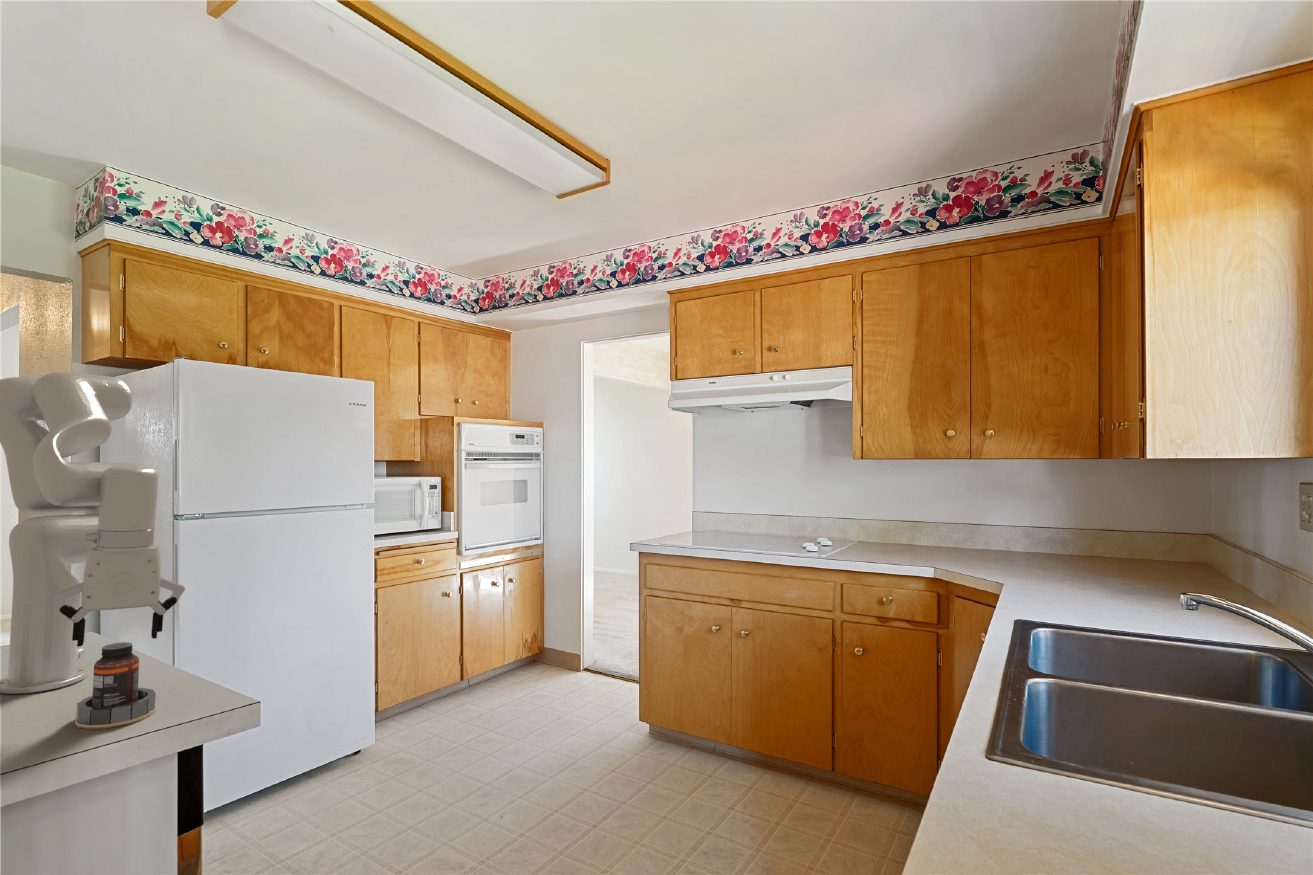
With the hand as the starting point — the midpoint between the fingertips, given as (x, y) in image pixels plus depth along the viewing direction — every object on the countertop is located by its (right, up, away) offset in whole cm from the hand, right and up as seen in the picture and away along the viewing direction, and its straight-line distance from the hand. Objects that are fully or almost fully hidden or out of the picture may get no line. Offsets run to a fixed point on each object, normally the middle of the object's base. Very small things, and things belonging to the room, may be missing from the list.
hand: (118, 640), depth 110 cm
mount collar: (0, -13, -1) cm, 13 cm away
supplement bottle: (0, -12, -1) cm, 12 cm away
